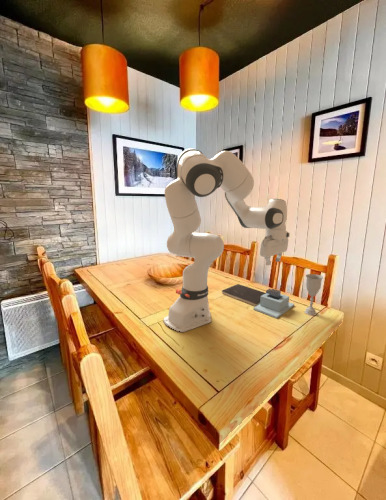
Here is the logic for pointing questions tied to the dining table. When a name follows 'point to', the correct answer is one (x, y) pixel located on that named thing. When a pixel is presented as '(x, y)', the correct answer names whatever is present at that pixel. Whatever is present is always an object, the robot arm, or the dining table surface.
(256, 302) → the hardcover book
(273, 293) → the bracket
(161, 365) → the dining table surface
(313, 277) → the chalice
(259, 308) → the grey socket base
